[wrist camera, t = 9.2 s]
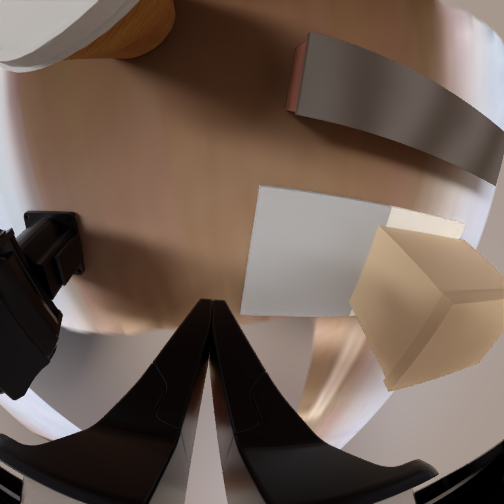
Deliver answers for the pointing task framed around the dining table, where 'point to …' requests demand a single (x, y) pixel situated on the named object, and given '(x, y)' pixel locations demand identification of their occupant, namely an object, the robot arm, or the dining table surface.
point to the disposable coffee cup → (79, 30)
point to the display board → (318, 249)
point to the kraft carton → (427, 305)
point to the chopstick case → (391, 104)
